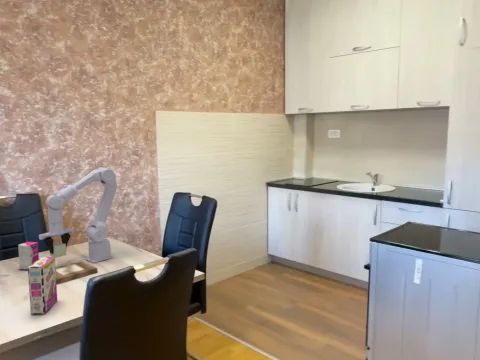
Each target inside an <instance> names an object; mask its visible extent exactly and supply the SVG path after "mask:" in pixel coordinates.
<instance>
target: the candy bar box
mask: <svg viewBox="0 0 480 360" xmlns="http://www.w3.org/2000/svg"><path fill="white" fill-rule="evenodd" d="M56 268H57V267H56V258H55V257H52V256H50V257H49V256H46V257H44V256H43V257H39V260H38V261H36V262H35V263H33V264H32V265H31V266H29V267H28V270H27V274H28V289H29V307H30V315H32V316H33V315H45V314H46V313H48V311H49V310H50V309H51V308H52V307H53V306H54V304H55V303H56V302H57V301H58V290H57V289H58V288H57V287H58V286H57V285H56Z"/></svg>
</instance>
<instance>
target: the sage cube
mask: <svg viewBox="0 0 480 360" xmlns="http://www.w3.org/2000/svg"><path fill="white" fill-rule="evenodd" d="M53 250H54V253H53V254H51V253H50V252H49V254H50V257H55V259H57V258H61V257H64V256H67V248H66V244H64V243H62V241H61V242H60V241H59V242H55V243H53Z"/></svg>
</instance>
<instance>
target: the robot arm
mask: <svg viewBox="0 0 480 360" xmlns="http://www.w3.org/2000/svg"><path fill="white" fill-rule="evenodd" d="M116 177H117V175H116V173H115V171H114V170H113V169H112V168H109V167H104V166H103V167H102V166H99V167H97V168H96V169H94V170H92V171H91V172H89V173H87V174H86V175H85V176H84V177H82V178H80V180H78V181H76V182H75V183H74V184H68V185H67V184H65V185H63V188H61V189H59V190H58V191H54V193H53V194H50V195H49V196H47V198H46V200H45V205H46V207H47V210H48V211H47V217H48V227H49V230H48V232H44V233H41V234H38V239H39V240H41V241H42V240H43V241H44V242H45V244H46V245H47V248H48V251H49V254H50V253H51V254H53V253H54V250H53V244H54V239H53V238H54V237H59V236H60V238H61V243H64V244H66V249H67V247H68V243H69V241H70V238H71V234H75V231H74V228H71V227H70V228H65V229H64V218H63V206H64V204H65V203H67V202H68V201H70V200H71V199H73V198H74V197H76V196H77V195H78V192H79V191H80V190H81V189H84V188H85V187H86V186H88V185H90V184H92V183H93V182H101V184H102V186H103V188H104V189H103V192H102V193H103V194H102V196H101V199H100V202H99V205H98V208H97V211H96V214H95V216H94V219H93V221H91V222H90V225H89V226H88V228H87V229H86V230H85V234H86V237H87V238H88V240H87V244H88V257H86V258H85V260H86V261H89V262H91V263H98V262H101V261H106V260H110V259H112V258H113V257H112V250H111V249H112V247H111V243H110V240H109V239H108V238H106V236H107V235H106V234H107V233H106V231H107V224H106V222H107V219H108V217H109V213H110V210H111V207H112V204H113V201H114V197H115V195H116V193H117V190H118V189H117V188H118V183H117V179H116Z"/></svg>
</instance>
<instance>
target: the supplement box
mask: <svg viewBox="0 0 480 360" xmlns="http://www.w3.org/2000/svg"><path fill="white" fill-rule="evenodd" d="M17 246H18V262H19V263H18V265H19V271H28V267H29V266H31V265H32V264H33V263H35V262H36V261H38V260H39V259H40V256H39V242H38V241H36V242H34V241H26V242H23V243H19V244H18V245H17Z"/></svg>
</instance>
